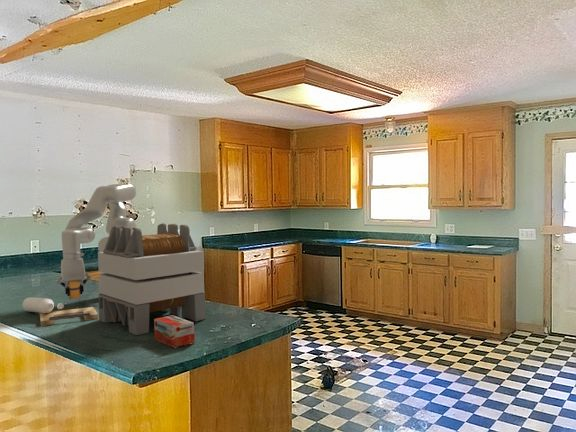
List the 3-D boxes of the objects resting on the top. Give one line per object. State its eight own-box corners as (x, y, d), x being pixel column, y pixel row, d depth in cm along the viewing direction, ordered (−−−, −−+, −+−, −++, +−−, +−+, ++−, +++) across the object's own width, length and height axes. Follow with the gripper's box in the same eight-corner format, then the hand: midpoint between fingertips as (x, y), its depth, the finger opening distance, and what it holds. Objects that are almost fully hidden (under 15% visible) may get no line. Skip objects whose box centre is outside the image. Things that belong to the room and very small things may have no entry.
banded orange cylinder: (80, 295, 227) (79, 278, 226) (81, 297, 223) (80, 281, 222) (68, 297, 225) (67, 280, 224) (69, 299, 220) (68, 282, 219)
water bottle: (21, 311, 219) (41, 314, 202) (23, 297, 220) (43, 298, 203) (41, 311, 225) (62, 313, 208) (42, 297, 226) (64, 298, 209)
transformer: (207, 319, 203) (205, 224, 201) (136, 336, 180) (133, 228, 178) (165, 306, 227) (163, 221, 225) (97, 320, 204) (94, 225, 202)
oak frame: (93, 311, 220) (93, 304, 220) (98, 318, 206) (98, 311, 206) (39, 317, 210) (39, 310, 210) (40, 326, 196) (40, 318, 195)
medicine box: (195, 344, 170) (194, 322, 169) (174, 349, 164) (174, 326, 164) (173, 335, 181) (172, 314, 180) (153, 340, 175) (152, 318, 175)
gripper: (90, 253, 229) (93, 290, 231) (51, 257, 221) (54, 295, 223) (92, 255, 223) (95, 293, 224) (52, 259, 214) (55, 299, 216)
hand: (74, 294), depth 224 cm, fingers closed on banded orange cylinder, 5 cm apart
